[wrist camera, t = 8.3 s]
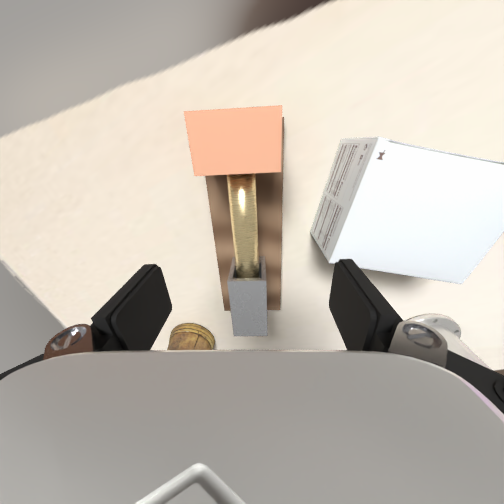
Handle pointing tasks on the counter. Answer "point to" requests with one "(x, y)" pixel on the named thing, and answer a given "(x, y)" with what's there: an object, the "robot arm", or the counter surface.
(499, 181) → the supplement box
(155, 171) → the counter surface
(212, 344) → the wooden mug
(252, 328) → the sleeve
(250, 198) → the tube
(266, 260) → the base board
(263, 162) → the socket block
